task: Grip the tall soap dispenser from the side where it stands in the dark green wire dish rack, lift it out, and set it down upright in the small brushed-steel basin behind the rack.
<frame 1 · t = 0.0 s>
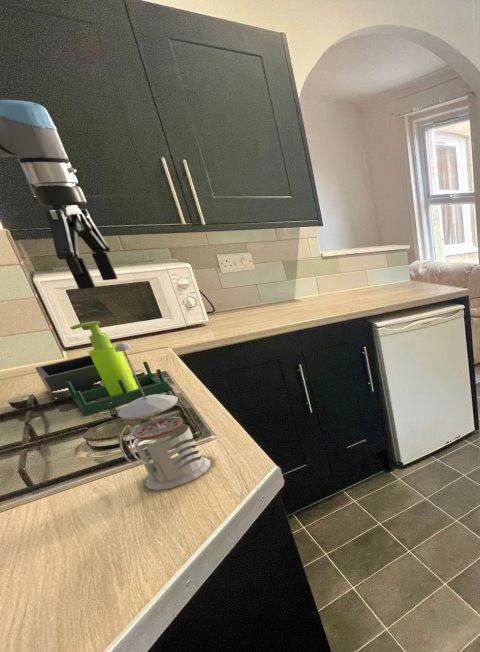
hand: (99, 283, 100), 29 cm above the worktop, tool pointing down, fingers open, 13 cm apart
basin: (92, 385, 118), on the worktop
french press: (175, 476, 76), on the worktop
soap dispenser: (124, 397, 110), resting in dish rack
dish rack: (123, 396, 110), on the worktop
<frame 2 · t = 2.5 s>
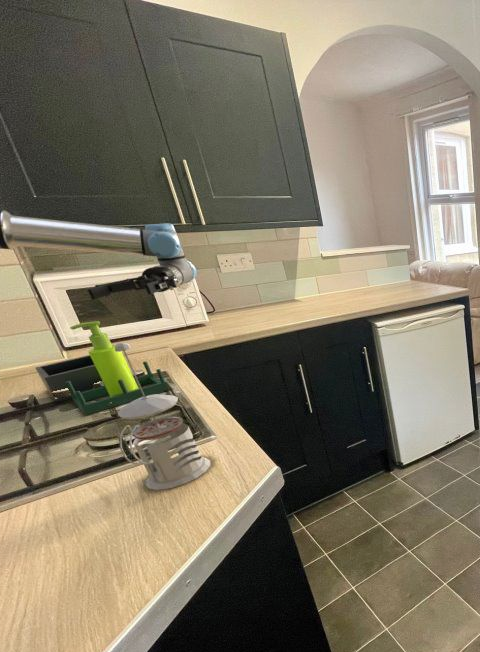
hand: (119, 291, 114), 25 cm above the worktop, tool horizontal, fingers open, 13 cm apart
nothing on the worktop moved.
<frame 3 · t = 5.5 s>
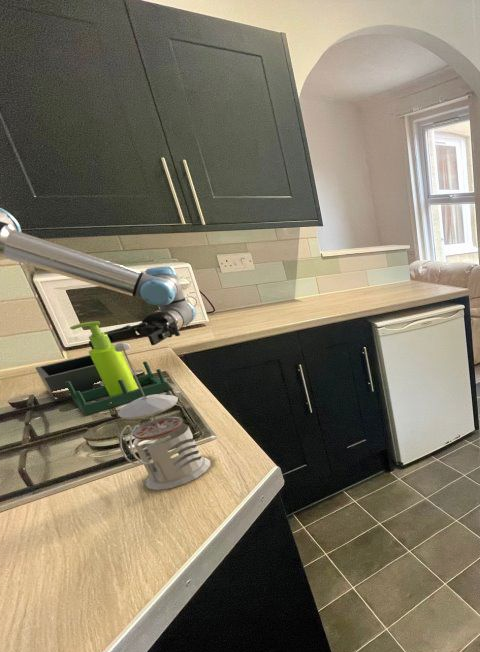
hand: (122, 343, 112), 12 cm above the worktop, tool horizontal, fingers open, 13 cm apart
nothing on the worktop moved.
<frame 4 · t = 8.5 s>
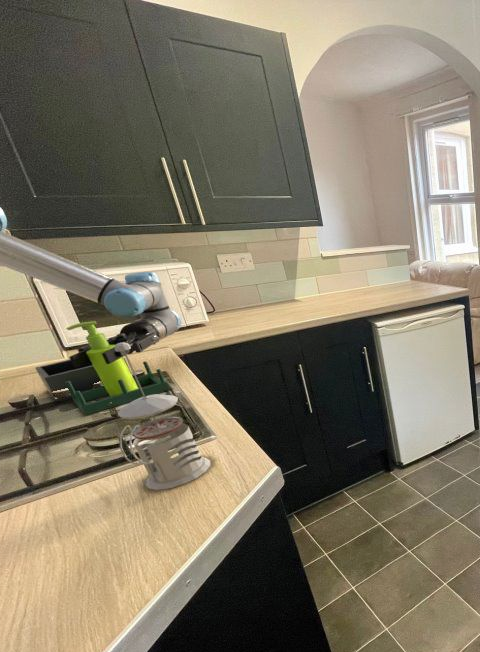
hand: (90, 360, 100), 12 cm above the worktop, tool horizontal, fingers closed on soap dispenser, 6 cm apart
soap dispenser: (123, 396, 110), resting in dish rack, touching gripper
everything else where it was.
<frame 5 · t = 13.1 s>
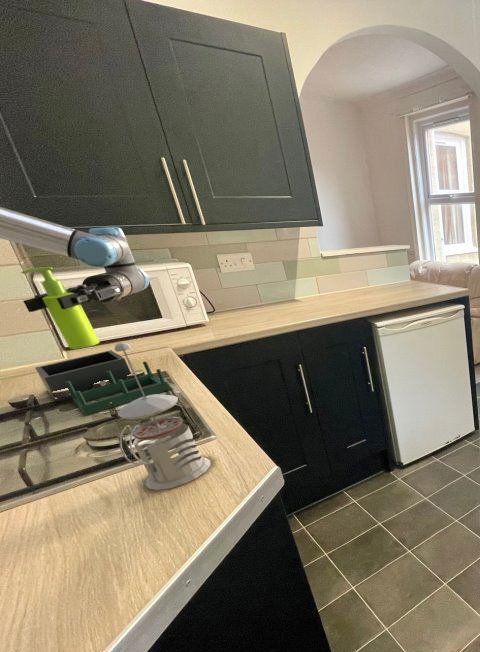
hand: (44, 304, 99), 25 cm above the worktop, tool horizontal, fingers closed on soap dispenser, 6 cm apart
soap dispenser: (82, 346, 109), point 13 cm above the worktop, touching gripper
everything else where it was.
when the fingers open (13 cm above the worktop, at t = 17.9 s): soap dispenser stays where it is, resting on basin.
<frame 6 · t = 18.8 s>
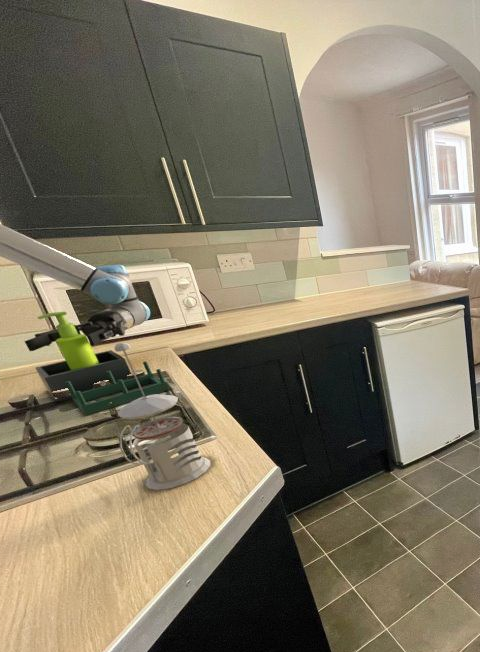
hand: (59, 343, 109), 14 cm above the worktop, tool horizontal, fingers open, 13 cm apart
soap dispenser: (90, 383, 117), point 1 cm above the worktop, touching basin
everything else where it was.
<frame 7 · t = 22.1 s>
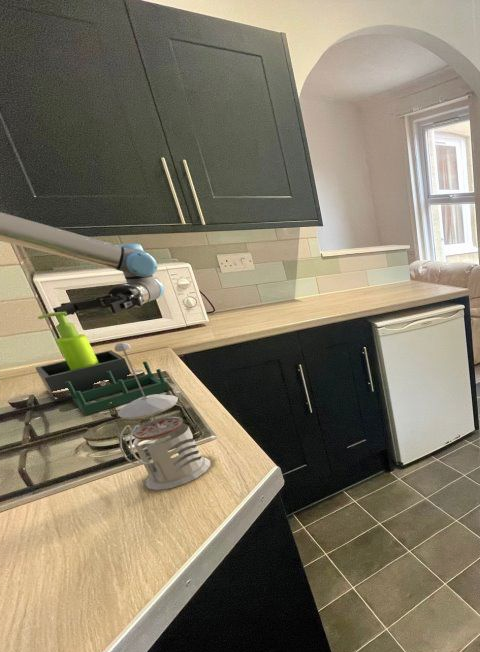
hand: (84, 310, 119), 19 cm above the worktop, tool horizontal, fingers open, 13 cm apart
nothing on the worktop moved.
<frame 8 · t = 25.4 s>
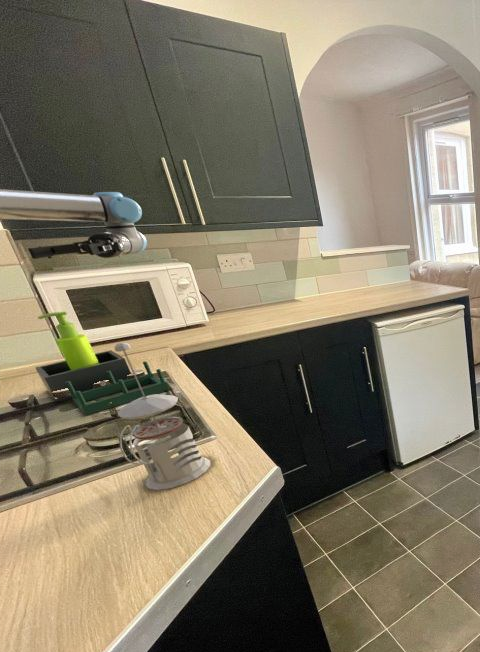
hand: (61, 251, 116), 35 cm above the worktop, tool horizontal, fingers open, 13 cm apart
nothing on the worktop moved.
at the end: soap dispenser inside the target area in the basin (0.0 cm from its centre), point 0.8 cm above the basin's base; soap dispenser tilted 0°; the gripper is holding nothing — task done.
